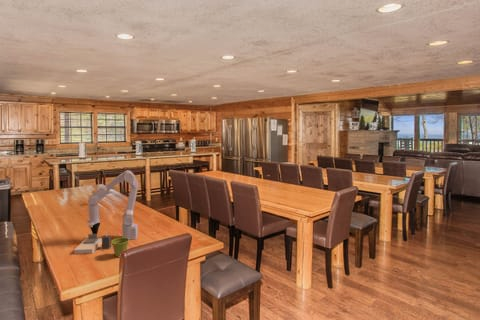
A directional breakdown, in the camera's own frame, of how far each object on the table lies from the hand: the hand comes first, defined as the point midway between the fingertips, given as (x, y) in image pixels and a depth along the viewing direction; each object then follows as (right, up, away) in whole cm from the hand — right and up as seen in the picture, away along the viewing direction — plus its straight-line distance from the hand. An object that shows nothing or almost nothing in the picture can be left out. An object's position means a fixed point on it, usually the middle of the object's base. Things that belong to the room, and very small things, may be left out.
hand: (95, 234), depth 198 cm
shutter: (+1, -2, -7) cm, 7 cm away
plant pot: (+24, -7, -20) cm, 32 cm away
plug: (+12, -5, -10) cm, 16 cm away
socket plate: (+1, -5, -10) cm, 11 cm away
